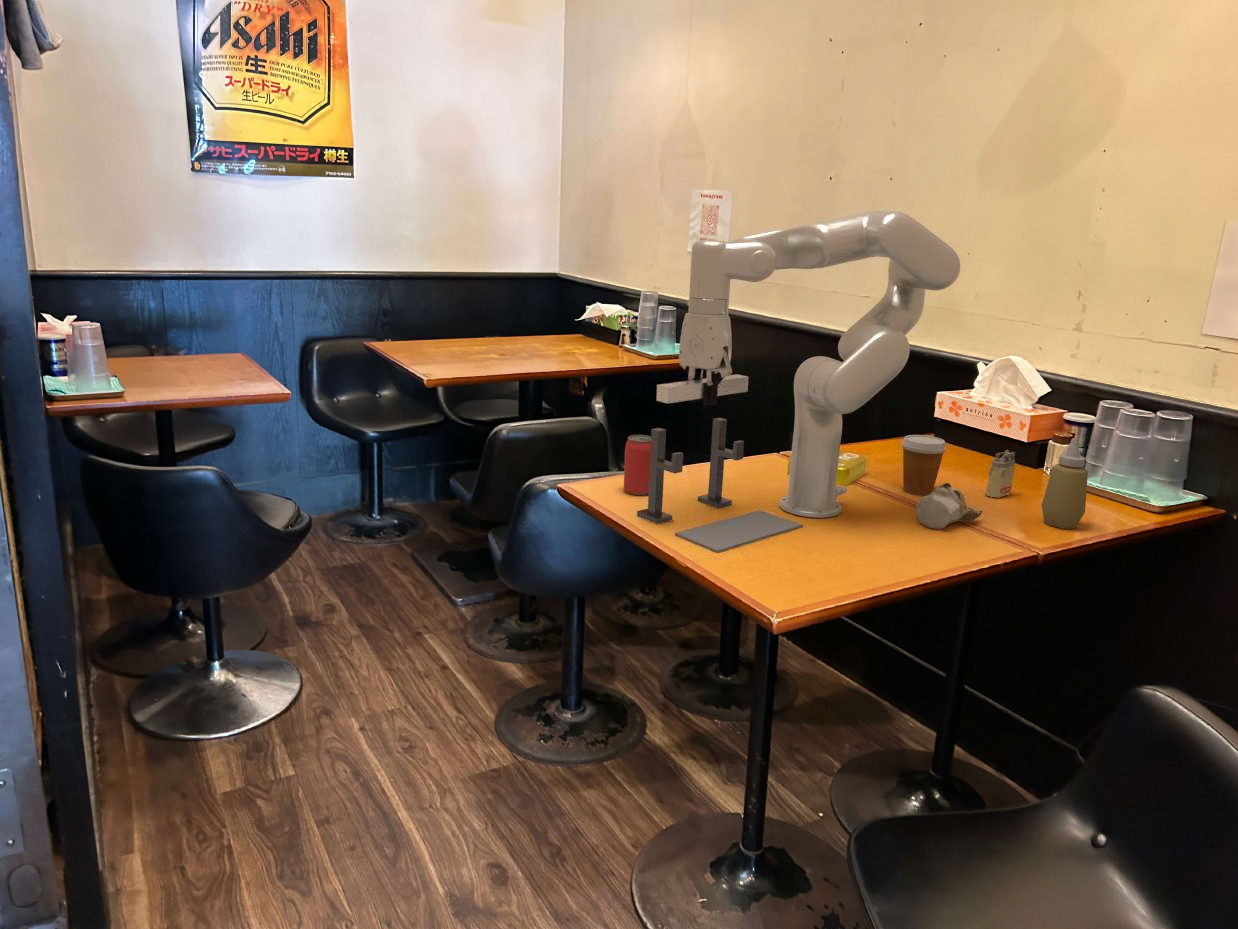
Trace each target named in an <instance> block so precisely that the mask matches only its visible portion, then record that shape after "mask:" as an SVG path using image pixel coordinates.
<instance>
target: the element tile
mask: <svg viewBox="0 0 1238 929" xmlns="http://www.w3.org/2000/svg"><path fill="white" fill-rule="evenodd" d="M867 460H868V459H867V457H866V456H865V455H860V454H855V453H851V452H850V453H849V452H843V451H840V452H839V461H838V471H837V480H836V486H841V485H844V486H849V485H850V484H852V483H853V482H855V481H857V480H858V479H860V478H861V477H863V476H864V475H865V474H866V468H867ZM787 463H788V464H787V475H789V476H790V465H791V456H789V457H788V461H787Z"/></svg>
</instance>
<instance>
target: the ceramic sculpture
mask: <svg viewBox="0 0 1238 929" xmlns="http://www.w3.org/2000/svg"><path fill="white" fill-rule="evenodd" d="M983 511H984V510H975V509H973V508H972V507H968V506H967V502H966V498H965V495H964V494H963V493H962V491H961V490H960V489H956V488H954V487H952V485H951V483H948V482H946V483H943V484H941V485H938V486H937V487H936V488H934V489H933V492H932V493H931V494H930V495H923V497H921V498H920V499H919V501H918V502H917V503H916V505H915V512H916V517H917V519H918V521H919V523H921V524H922V525H924V526H926V527H927V528H929V529H933V530H935V529H936V530H942V529H944V528H945V527H947V525H949V524H952V523H955V522H958V521H962V522H972V521H975V520H976V519H978V518H979V517H980V516H981V515H982V513H983Z"/></svg>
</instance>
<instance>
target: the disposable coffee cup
mask: <svg viewBox="0 0 1238 929" xmlns="http://www.w3.org/2000/svg"><path fill="white" fill-rule="evenodd" d="M901 445H902V446H901V447H902V452H903V453H902V461H903V462H902V463H903V464H902V465H903V466H902V467H903V472H902V476H903V478H902V479H903V484H902V485H903V486H902V487H903V488H902V490H903V491H904V492H905V493H909V494H911V495H917V496H929V495H930V494H931V493H932V492H933V491H934V490H935V486H936V481H937V477H938V474H939V470H940V466H941V463H942V459H943V455H944V453H945V451H946V450H947V446H946V441H945V440H944V439H943V438H939V437H937V436H932V435H931V436H930V435H925V434H923V435H922V434H909V435H906V436H904V438H903V441H901Z"/></svg>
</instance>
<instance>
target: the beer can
mask: <svg viewBox="0 0 1238 929" xmlns="http://www.w3.org/2000/svg"><path fill="white" fill-rule="evenodd" d="M624 447H625V448H624V468H623V469H624V470H623V490H624V492H626V493H627V494H629V495H633V496H647V495H648V494H649V472H650V450H651V436H650V435H646V434H645V435H644V434H633V435H629V436H628V437H627V441H626V443H625V446H624Z"/></svg>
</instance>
